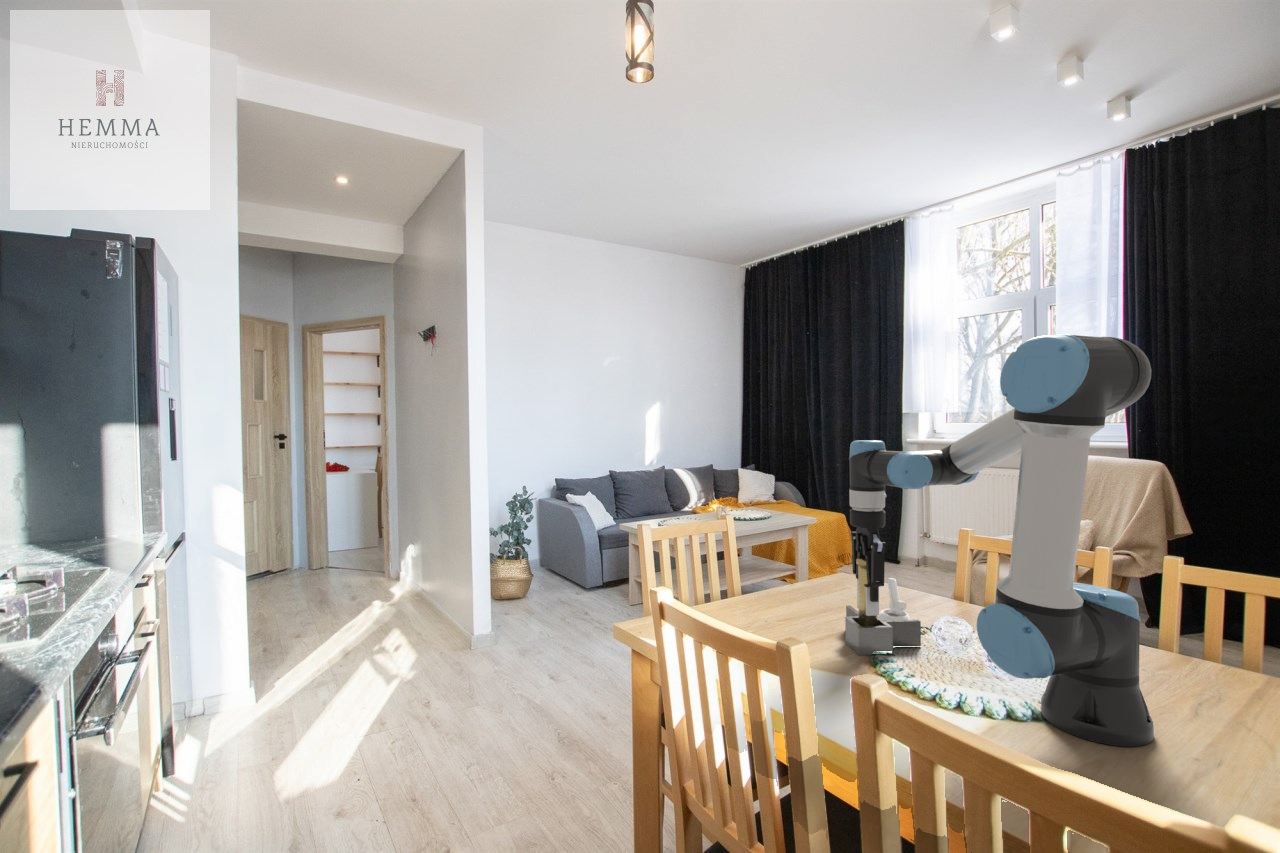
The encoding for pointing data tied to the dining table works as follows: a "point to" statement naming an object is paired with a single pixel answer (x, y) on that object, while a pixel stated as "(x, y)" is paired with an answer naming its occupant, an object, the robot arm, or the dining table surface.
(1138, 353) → the robot arm
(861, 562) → the hinge pin
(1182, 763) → the dining table surface
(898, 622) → the hinge base
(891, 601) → the hook
